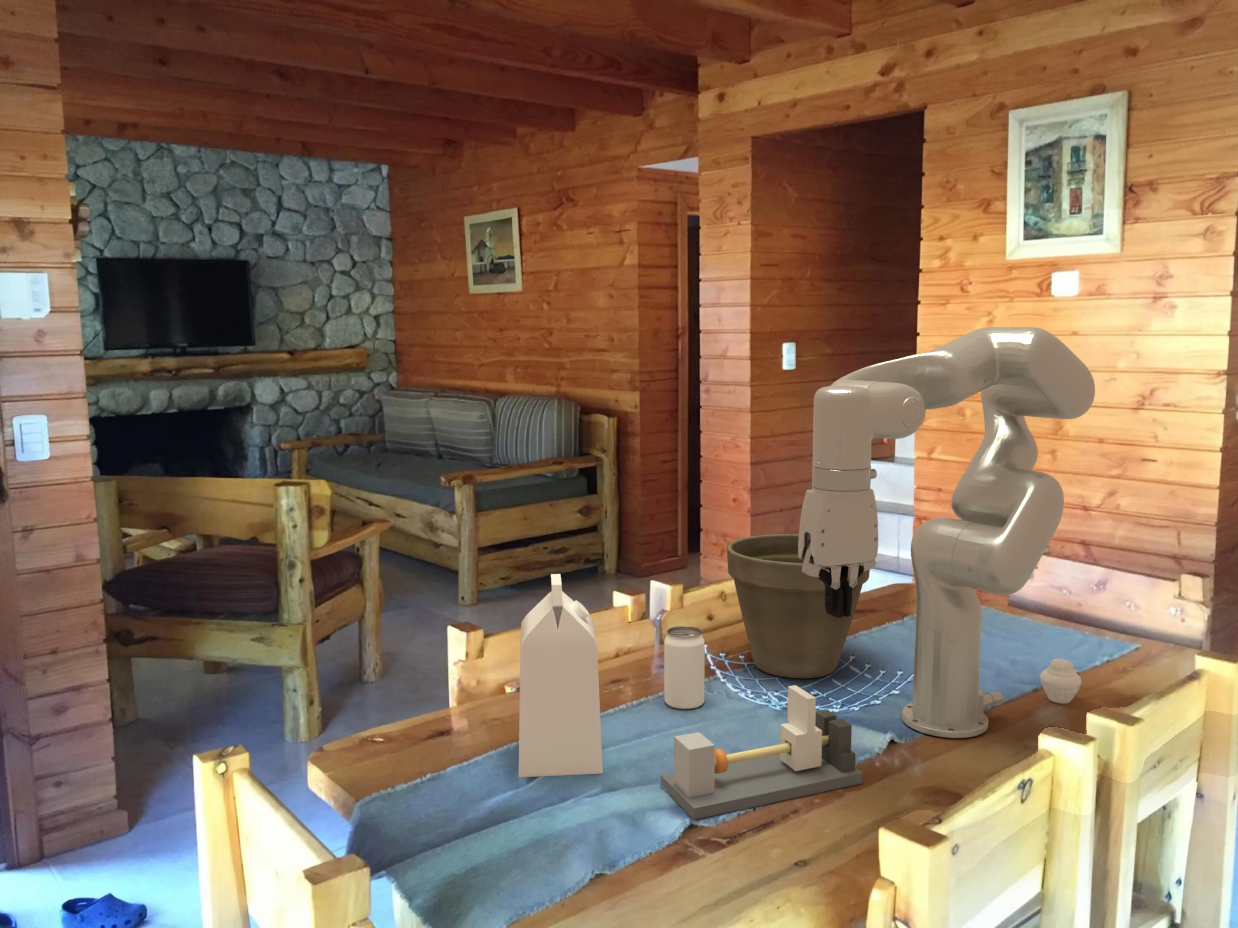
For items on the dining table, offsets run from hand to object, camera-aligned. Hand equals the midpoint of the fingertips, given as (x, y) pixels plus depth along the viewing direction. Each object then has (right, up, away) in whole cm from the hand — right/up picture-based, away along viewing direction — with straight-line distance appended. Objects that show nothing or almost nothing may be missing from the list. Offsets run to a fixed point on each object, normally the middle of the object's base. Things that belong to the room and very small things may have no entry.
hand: (838, 614), depth 136 cm
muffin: (+42, -18, +27) cm, 53 cm away
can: (-19, -19, +28) cm, 38 cm away
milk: (-38, -22, +8) cm, 45 cm away
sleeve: (-5, -20, +1) cm, 21 cm away
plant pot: (+2, -16, +45) cm, 47 cm away
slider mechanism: (-10, -23, -1) cm, 25 cm away
